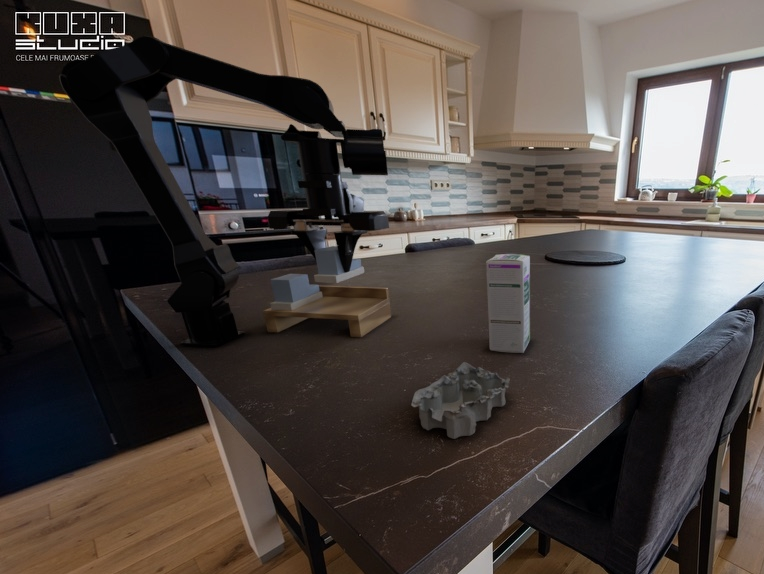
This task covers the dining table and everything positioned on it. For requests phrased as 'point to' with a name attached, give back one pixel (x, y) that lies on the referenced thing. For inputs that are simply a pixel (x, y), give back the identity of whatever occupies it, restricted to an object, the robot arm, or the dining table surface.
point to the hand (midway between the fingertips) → (336, 271)
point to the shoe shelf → (338, 309)
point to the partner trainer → (293, 292)
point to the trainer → (334, 266)
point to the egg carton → (460, 400)
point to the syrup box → (508, 302)
